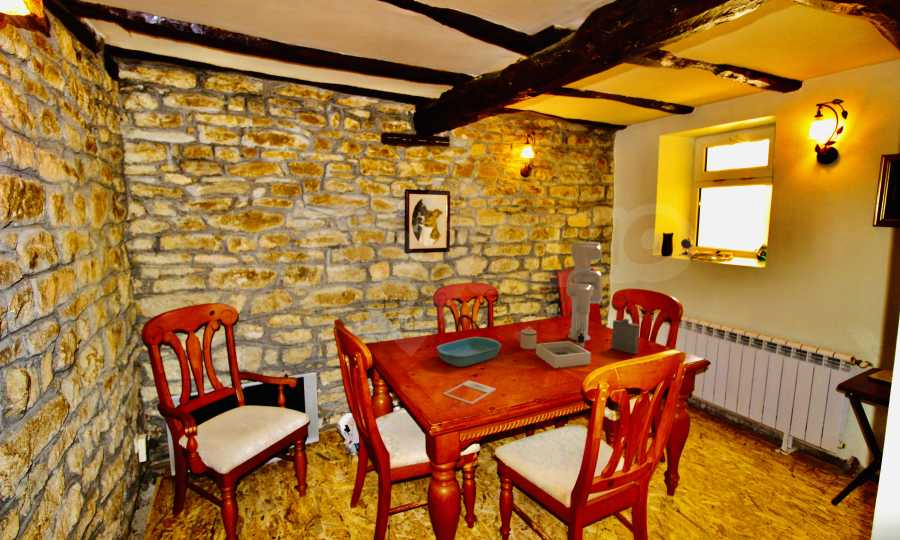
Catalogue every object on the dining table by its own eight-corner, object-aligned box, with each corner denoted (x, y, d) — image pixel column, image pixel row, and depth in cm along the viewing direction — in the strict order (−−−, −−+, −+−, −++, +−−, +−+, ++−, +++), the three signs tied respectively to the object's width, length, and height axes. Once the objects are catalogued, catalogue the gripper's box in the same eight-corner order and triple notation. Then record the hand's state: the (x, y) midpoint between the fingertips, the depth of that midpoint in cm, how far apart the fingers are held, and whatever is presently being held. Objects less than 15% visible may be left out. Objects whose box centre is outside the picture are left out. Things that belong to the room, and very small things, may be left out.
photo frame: (495, 388, 187) (471, 402, 174) (495, 390, 188) (471, 405, 174) (468, 379, 196) (443, 393, 183) (468, 382, 197) (443, 395, 183)
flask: (635, 354, 232) (637, 322, 230) (610, 348, 243) (611, 317, 240) (638, 353, 235) (640, 321, 232) (613, 346, 245) (615, 316, 242)
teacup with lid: (539, 346, 245) (540, 327, 243) (530, 350, 238) (531, 330, 236) (521, 342, 253) (522, 323, 251) (512, 346, 246) (513, 326, 244)
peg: (575, 345, 241) (576, 328, 239) (581, 345, 242) (582, 328, 240) (579, 348, 237) (580, 330, 236) (585, 347, 238) (586, 330, 237)
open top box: (536, 354, 232) (536, 343, 231) (569, 351, 237) (569, 340, 236) (554, 368, 213) (555, 356, 212) (590, 364, 218) (590, 352, 217)
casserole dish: (479, 345, 247) (479, 333, 246) (508, 356, 230) (509, 343, 229) (428, 360, 223) (428, 347, 222) (456, 373, 207) (456, 358, 205)
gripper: (574, 305, 245) (573, 336, 248) (575, 313, 229) (574, 346, 232) (588, 305, 243) (586, 337, 246) (590, 313, 227) (588, 347, 230)
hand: (580, 341), depth 239 cm, fingers closed on peg, 4 cm apart
